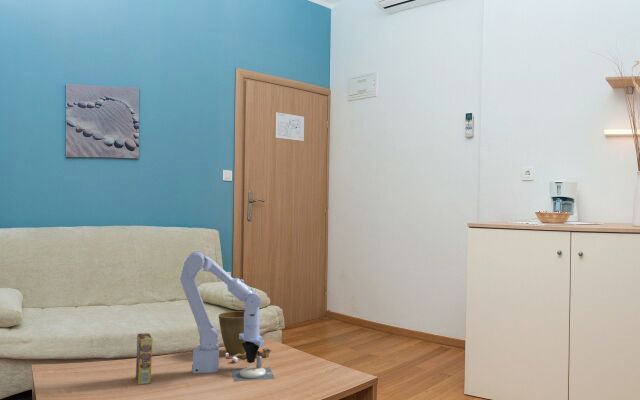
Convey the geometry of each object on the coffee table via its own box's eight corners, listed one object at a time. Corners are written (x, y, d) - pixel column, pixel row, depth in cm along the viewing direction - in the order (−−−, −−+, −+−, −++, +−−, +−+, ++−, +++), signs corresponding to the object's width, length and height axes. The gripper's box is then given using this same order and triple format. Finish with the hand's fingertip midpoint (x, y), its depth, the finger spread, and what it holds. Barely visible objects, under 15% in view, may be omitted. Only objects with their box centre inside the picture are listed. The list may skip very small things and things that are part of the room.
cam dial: (256, 379, 172) (256, 364, 172) (234, 375, 176) (235, 360, 176) (270, 372, 180) (271, 357, 181) (249, 368, 184) (250, 354, 184)
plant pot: (259, 354, 206) (260, 315, 207) (225, 359, 199) (225, 319, 199) (246, 346, 219) (246, 309, 220) (213, 350, 212) (213, 312, 212)
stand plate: (234, 384, 170) (234, 381, 170) (231, 372, 183) (231, 369, 183) (275, 381, 174) (275, 378, 174) (269, 370, 186) (269, 367, 186)
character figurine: (224, 361, 198) (224, 350, 198) (266, 355, 207) (266, 345, 208) (233, 367, 190) (233, 357, 190) (276, 361, 199) (276, 350, 199)
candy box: (151, 383, 171) (152, 338, 171) (138, 385, 169) (139, 339, 169) (148, 375, 179) (149, 332, 179) (135, 377, 177) (136, 333, 177)
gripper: (271, 327, 183) (271, 364, 183) (250, 320, 194) (250, 356, 194) (255, 329, 179) (254, 368, 178) (234, 322, 190) (233, 359, 189)
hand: (251, 362), depth 186 cm, fingers closed
